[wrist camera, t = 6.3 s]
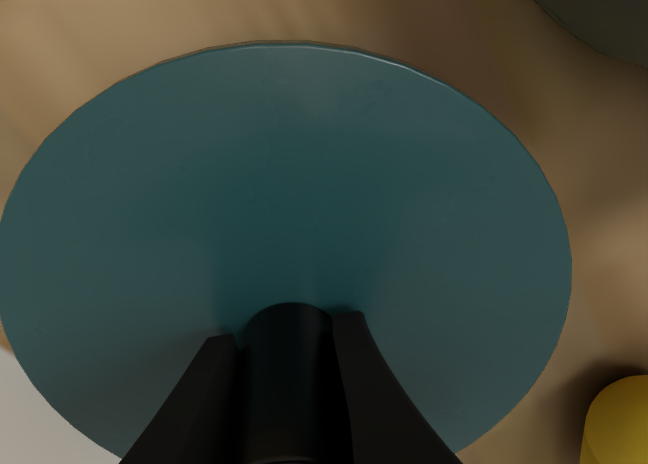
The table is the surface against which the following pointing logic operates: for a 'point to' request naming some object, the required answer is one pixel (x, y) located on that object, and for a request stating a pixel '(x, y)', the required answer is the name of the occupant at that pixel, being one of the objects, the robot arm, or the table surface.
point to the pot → (606, 25)
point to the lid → (282, 247)
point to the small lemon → (618, 424)
